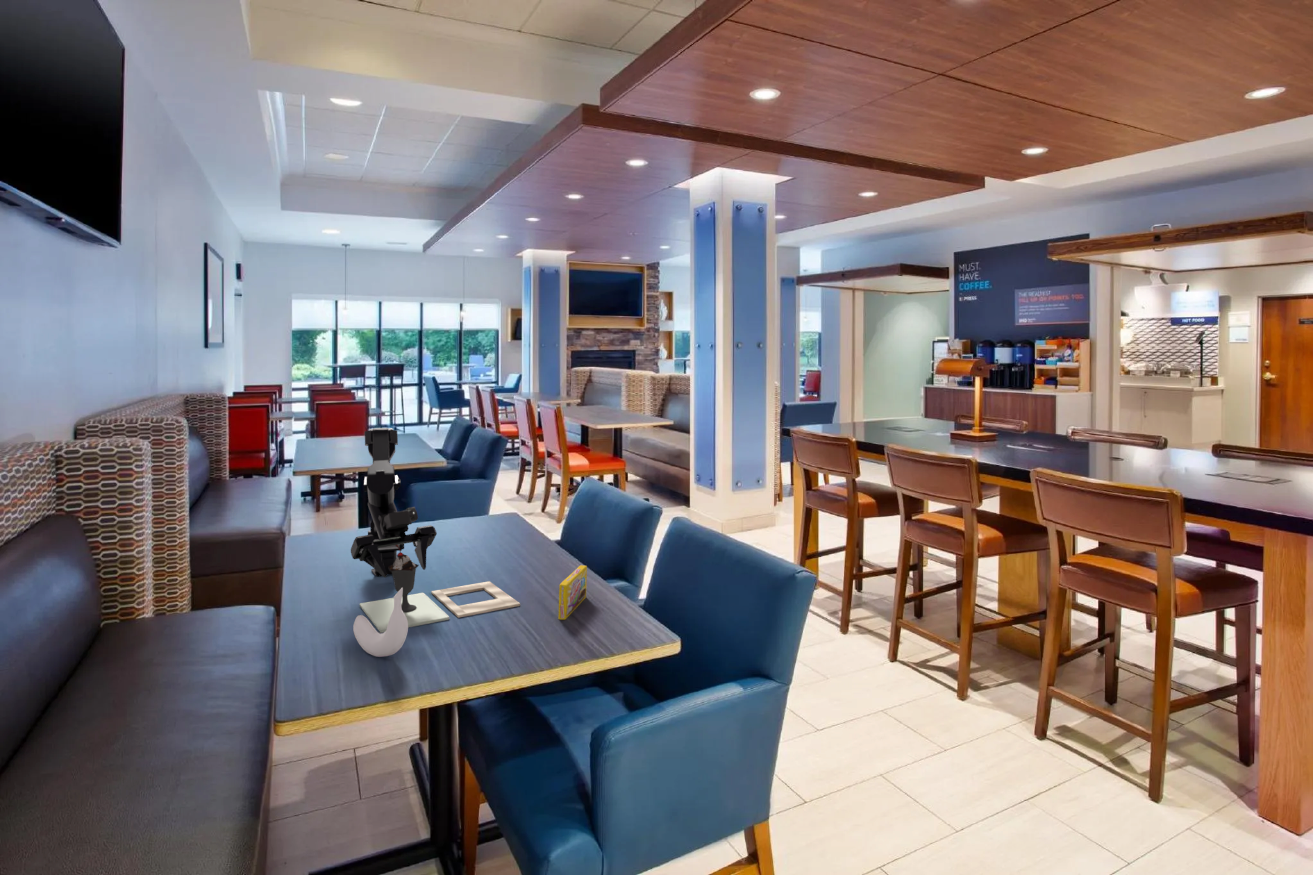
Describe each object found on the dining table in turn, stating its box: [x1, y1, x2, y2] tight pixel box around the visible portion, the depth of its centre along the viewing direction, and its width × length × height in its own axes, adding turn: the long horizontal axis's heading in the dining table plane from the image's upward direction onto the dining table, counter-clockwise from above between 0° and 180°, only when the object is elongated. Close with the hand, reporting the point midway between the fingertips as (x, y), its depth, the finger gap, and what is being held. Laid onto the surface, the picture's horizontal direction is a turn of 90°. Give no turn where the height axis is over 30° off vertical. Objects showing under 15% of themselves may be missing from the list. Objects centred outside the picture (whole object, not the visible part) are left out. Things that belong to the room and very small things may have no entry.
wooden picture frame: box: [430, 580, 521, 619], centre depth 185 cm, size 20×15×1 cm
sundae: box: [388, 545, 420, 612], centre depth 175 cm, size 7×7×15 cm
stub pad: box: [359, 592, 450, 634], centre depth 176 cm, size 20×15×1 cm
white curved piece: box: [352, 588, 409, 658], centre depth 152 cm, size 5×19×15 cm, turn 52°
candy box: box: [557, 564, 588, 621], centre depth 179 cm, size 16×2×8 cm, turn 168°
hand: (405, 572), depth 174 cm, fingers open, 9 cm apart
